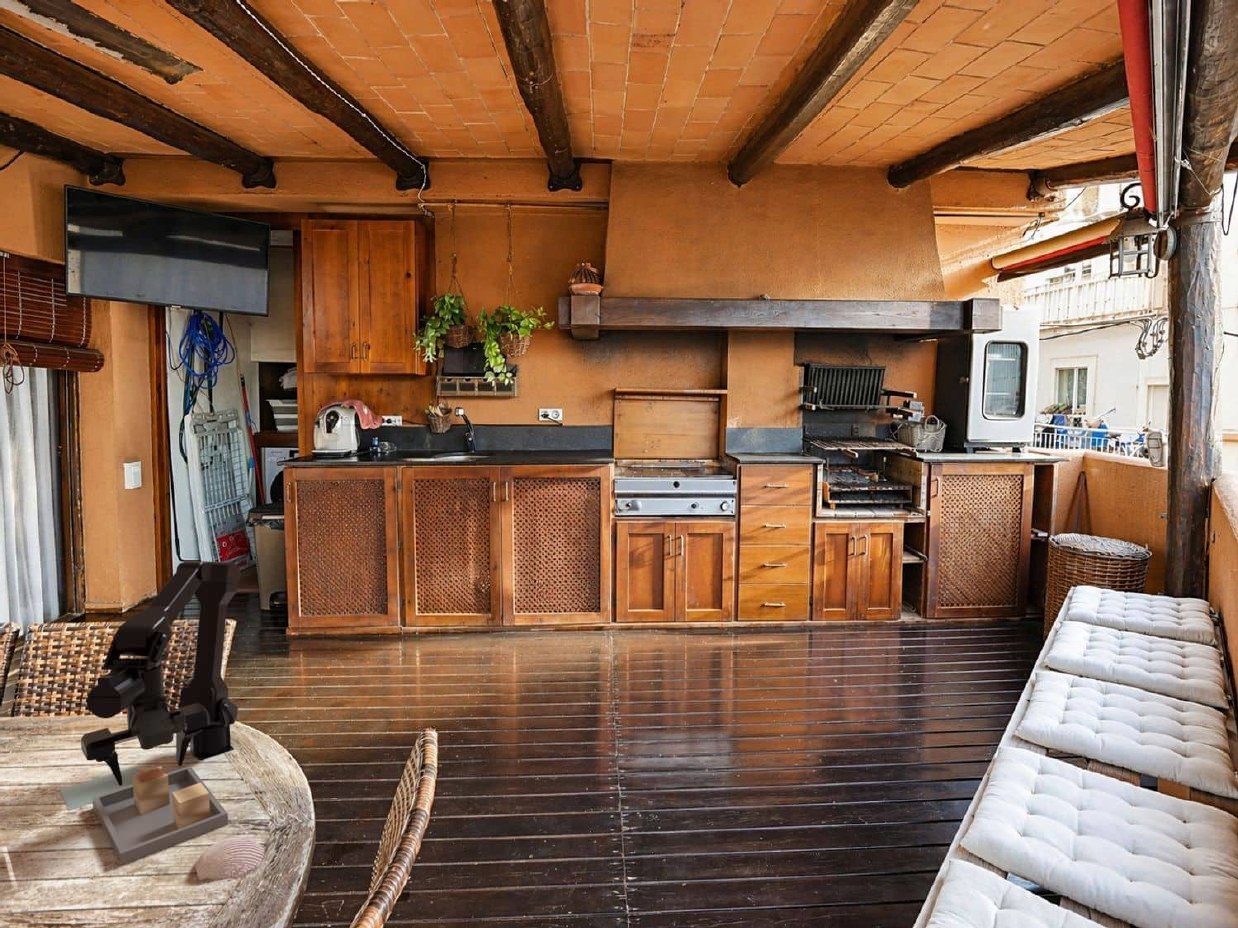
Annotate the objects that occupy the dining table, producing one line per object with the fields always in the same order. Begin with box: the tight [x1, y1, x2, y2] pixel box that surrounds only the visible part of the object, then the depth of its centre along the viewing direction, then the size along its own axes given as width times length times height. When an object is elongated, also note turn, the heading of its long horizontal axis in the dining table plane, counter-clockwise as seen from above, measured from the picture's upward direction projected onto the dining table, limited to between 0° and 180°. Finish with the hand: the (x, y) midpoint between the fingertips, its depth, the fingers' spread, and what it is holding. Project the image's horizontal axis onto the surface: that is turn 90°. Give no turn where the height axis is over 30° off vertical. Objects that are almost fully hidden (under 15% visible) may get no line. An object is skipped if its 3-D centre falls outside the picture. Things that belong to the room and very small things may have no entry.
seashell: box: [194, 837, 265, 882], centre depth 117 cm, size 10×6×10 cm
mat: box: [59, 766, 140, 811], centre depth 138 cm, size 12×9×1 cm
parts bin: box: [92, 765, 229, 867], centre depth 129 cm, size 16×22×2 cm
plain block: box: [172, 783, 210, 829], centre depth 127 cm, size 4×4×6 cm
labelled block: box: [132, 765, 170, 814], centre depth 132 cm, size 4×4×6 cm
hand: (150, 774), depth 132 cm, fingers open, 9 cm apart
